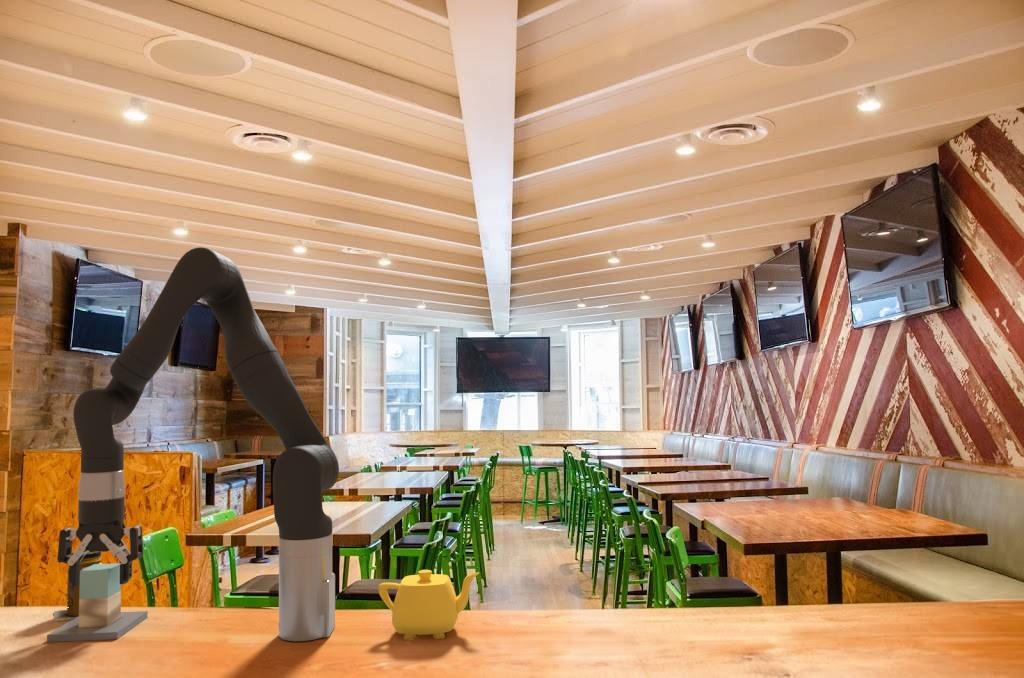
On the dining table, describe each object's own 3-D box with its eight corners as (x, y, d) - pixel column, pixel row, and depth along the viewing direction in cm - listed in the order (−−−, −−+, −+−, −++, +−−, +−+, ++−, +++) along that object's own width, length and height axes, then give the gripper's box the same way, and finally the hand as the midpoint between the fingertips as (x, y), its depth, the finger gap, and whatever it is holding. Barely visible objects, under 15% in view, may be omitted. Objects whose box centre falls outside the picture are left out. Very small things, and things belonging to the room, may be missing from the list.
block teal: (120, 590, 136) (121, 563, 136) (107, 598, 131) (108, 570, 131) (93, 591, 136) (94, 564, 136) (79, 599, 131) (79, 571, 131)
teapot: (480, 620, 133) (479, 561, 134) (479, 641, 122) (478, 577, 123) (383, 623, 133) (382, 564, 134) (373, 645, 122) (373, 580, 123)
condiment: (105, 614, 142) (106, 552, 143) (54, 622, 137) (56, 558, 138) (102, 605, 148) (103, 545, 149) (53, 613, 143) (55, 551, 144)
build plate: (147, 617, 139) (147, 611, 139) (117, 639, 127) (117, 632, 127) (83, 619, 138) (83, 613, 138) (46, 641, 126) (47, 634, 126)
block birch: (120, 617, 135) (120, 590, 136) (107, 626, 130) (107, 598, 131) (93, 618, 135) (93, 591, 135) (78, 627, 130) (79, 599, 131)
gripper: (150, 491, 139) (148, 577, 137) (73, 493, 138) (71, 580, 137) (131, 497, 131) (130, 588, 130) (50, 500, 130) (48, 591, 129)
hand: (100, 584), depth 133 cm, fingers open, 8 cm apart
